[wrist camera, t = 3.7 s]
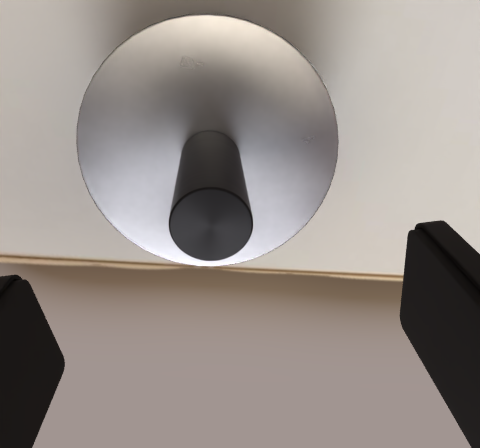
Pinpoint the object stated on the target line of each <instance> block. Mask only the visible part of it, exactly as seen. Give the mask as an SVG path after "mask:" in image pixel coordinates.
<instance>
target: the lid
mask: <svg viewBox="0 0 480 448" xmlns="http://www.w3.org/2000/svg"><path fill="white" fill-rule="evenodd" d="M76 144H77V152H78V161H79V165H80V168H81V172H82V176H83V179H84V181H85V184H86V186H87V189H88V191H89V193H90V195H91V197H92V198H93V200H94V202H95V204H96V206H97V207H98V208H99V210H100V211H101V212H102V214H103V215H104V216H105V218H106V219H107V220H108V221H109V222H110V223H111V224H112V225H113V226H114V227H115V229H116V230H117V231H119V232H120V233H121V234H122V235H123V236H125V237H126V238H127V239H128V240H130V241H131V242H133V243H134V244H136V245H137V246H139V247H140V248H142V249H144V250H146V251H148V252H150V253H152V254H154V255H156V256H159V257H162V258H164V259H167V260H170V261H174V262H178V263H182V264H188V265H196V266H223V265H231V264H236V263H241V262H245V261H248V260H251V259H254V258H257V257H259V256H262V255H264V254H266V253H269V252H271V251H272V250H274V249H276V248H278V247H279V246H281V245H283V244H284V243H285V242H287V241H288V240H289V239H291V238H292V237H293V236H295V235H296V234H297V233H298V232H299V231H300V230H301V229H302V228H303V227H304V226H305V225H306V224H307V223H308V221H309V220H310V219H311V218H312V217H313V216H314V214H315V213H316V211H317V210H318V208H319V207H320V205H321V204H322V202H323V200H324V198H325V196H326V194H327V192H328V190H329V187H330V185H331V182H332V179H333V176H334V172H335V167H336V163H337V156H338V126H337V121H336V116H335V111H334V107H333V105H332V102H331V99H330V96H329V93H328V91H327V89H326V87H325V85H324V83H323V82H322V80H321V78H320V76H319V75H318V73H317V72H316V70H315V69H314V68H313V66H312V65H311V63H310V62H309V61H308V60H307V59H306V58H305V57H304V56H303V55H302V54H301V53H300V52H299V51H298V49H296V48H295V47H294V46H293V45H291V44H290V43H289V42H288V41H286V40H285V39H284V38H283V37H281V36H279V35H278V34H276V33H274V32H272V31H271V30H269V29H267V28H266V27H263V26H261V25H258V24H256V23H253V22H251V21H248V20H245V19H241V18H237V17H233V16H229V15H220V14H209V13H205V14H188V15H183V16H179V17H174V18H169V19H166V20H164V21H161V22H158V23H155V24H153V25H150V26H148V27H146V28H144V29H143V30H141V31H139V32H137V33H135V34H134V35H132V36H131V37H129V38H128V39H127V40H126V41H124V42H123V43H122V44H120V45H119V46H118V47H117V48H116V49H115V50H114V51H113V52H112V53H111V54H110V55H109V56H108V57H107V58H106V59H105V60H104V61H103V63H102V64H101V66H100V67H99V69H98V70H97V71H96V73H95V74H94V76H93V78H92V80H91V82H90V84H89V86H88V88H87V90H86V92H85V95H84V98H83V101H82V104H81V107H80V111H79V117H78V123H77V143H76Z"/></svg>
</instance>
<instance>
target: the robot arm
mask: <svg viewBox="0 0 480 448" xmlns="http://www.w3.org/2000/svg"><path fill="white" fill-rule="evenodd" d="M400 321H401V325H402V328H403V330H404V331H405V333H406V335H407V336H408V338H409V340H410V342H411V344H412V345H413V347H414V349H415V351H416V352H417V354H418V356H419V358H420V359H421V361H422V363H423V364H424V366H425V368H426V370H427V371H428V373H429V375H430V377H431V378H432V380H433V382H434V383H435V385H436V387H437V389H438V390H439V392H440V394H441V396H442V397H443V399H444V401H445V403H446V404H447V406H448V408H449V409H450V411H451V413H452V415H453V416H454V418H455V420H456V421H457V423H458V425H459V427H460V428H461V430H462V432H463V434H464V435H465V437H466V439H467V441H468V442H469V444H470V446H471V448H480V254H479V253H478V252H477V251H476V250H475V249H474V248H472V247H471V246H470V245H469V244H468V243H467V242H466V241H465V240H464V239H463V238H462V237H461V236H460V235H459V234H458V233H457V232H456V231H454V230H453V229H452V228H451V227H450V226H449V225H448V224H447V223H446V222H444V221H433V222H425V223H418V224H417V225H416V227H415V230H411V231H409V233H408V238H407V248H406V258H405V268H404V278H403V288H402V298H401V308H400ZM64 367H65V362H64V357H63V354H62V352H61V350H60V348H59V346H58V344H57V341H56V339H55V337H54V335H53V333H52V331H51V329H50V326H49V324H48V322H47V320H46V318H45V316H44V313H43V311H42V309H41V307H40V305H39V303H38V301H37V298H36V296H35V294H34V292H33V290H32V287H31V285H30V284H29V282H28V281H27V280H22V278H21V277H19V276H18V275H10V276H1V277H0V448H32V446H33V444H34V442H35V439H36V437H37V435H38V432H39V430H40V427H41V425H42V422H43V420H44V418H45V415H46V413H47V410H48V408H49V405H50V403H51V400H52V398H53V396H54V393H55V391H56V388H57V386H58V384H59V381H60V379H61V377H62V374H63V371H64Z"/></svg>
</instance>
